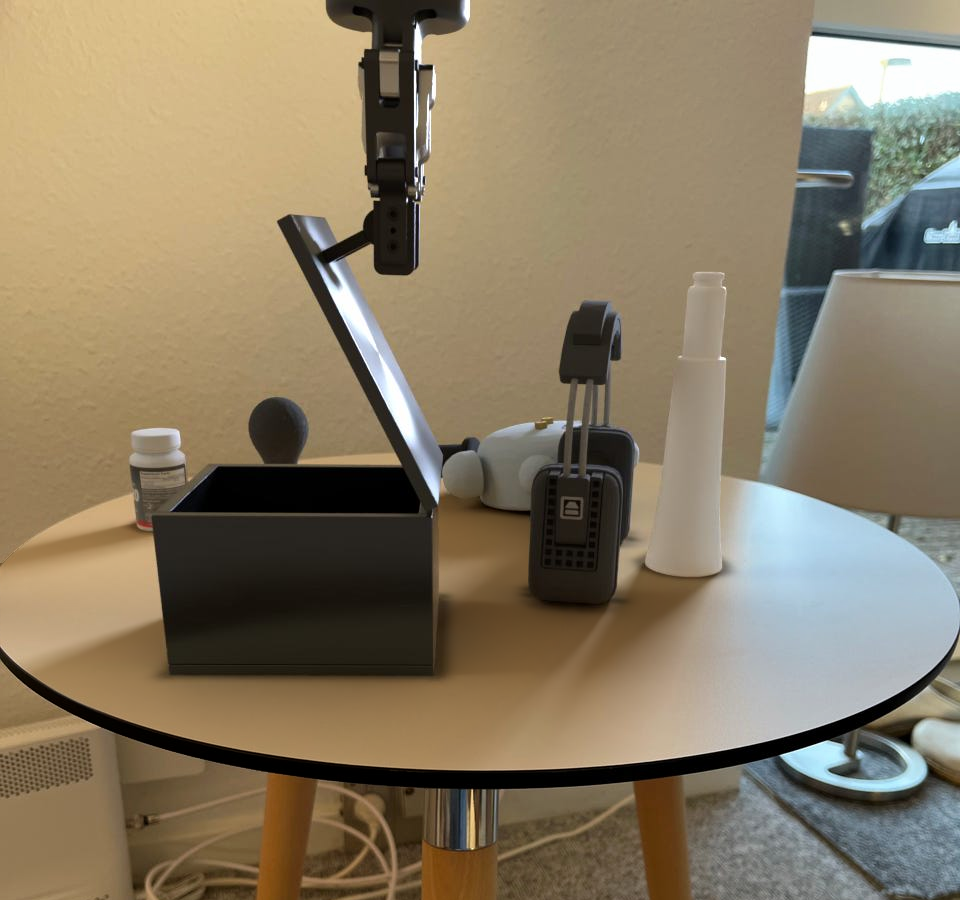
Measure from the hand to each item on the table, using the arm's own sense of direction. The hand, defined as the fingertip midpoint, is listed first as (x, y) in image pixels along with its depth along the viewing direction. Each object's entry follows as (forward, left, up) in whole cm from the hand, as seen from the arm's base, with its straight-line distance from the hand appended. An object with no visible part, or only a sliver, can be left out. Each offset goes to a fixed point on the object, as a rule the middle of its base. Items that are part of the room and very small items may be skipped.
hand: (397, 271), depth 58 cm
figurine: (+10, +36, -23) cm, 44 cm away
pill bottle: (-23, +26, -23) cm, 41 cm away
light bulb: (-14, +35, -23) cm, 44 cm away
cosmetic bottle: (+21, +15, -23) cm, 34 cm away
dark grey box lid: (-2, 0, -5) cm, 5 cm away
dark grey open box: (-6, 0, -22) cm, 23 cm away
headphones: (+13, +15, -23) cm, 30 cm away
